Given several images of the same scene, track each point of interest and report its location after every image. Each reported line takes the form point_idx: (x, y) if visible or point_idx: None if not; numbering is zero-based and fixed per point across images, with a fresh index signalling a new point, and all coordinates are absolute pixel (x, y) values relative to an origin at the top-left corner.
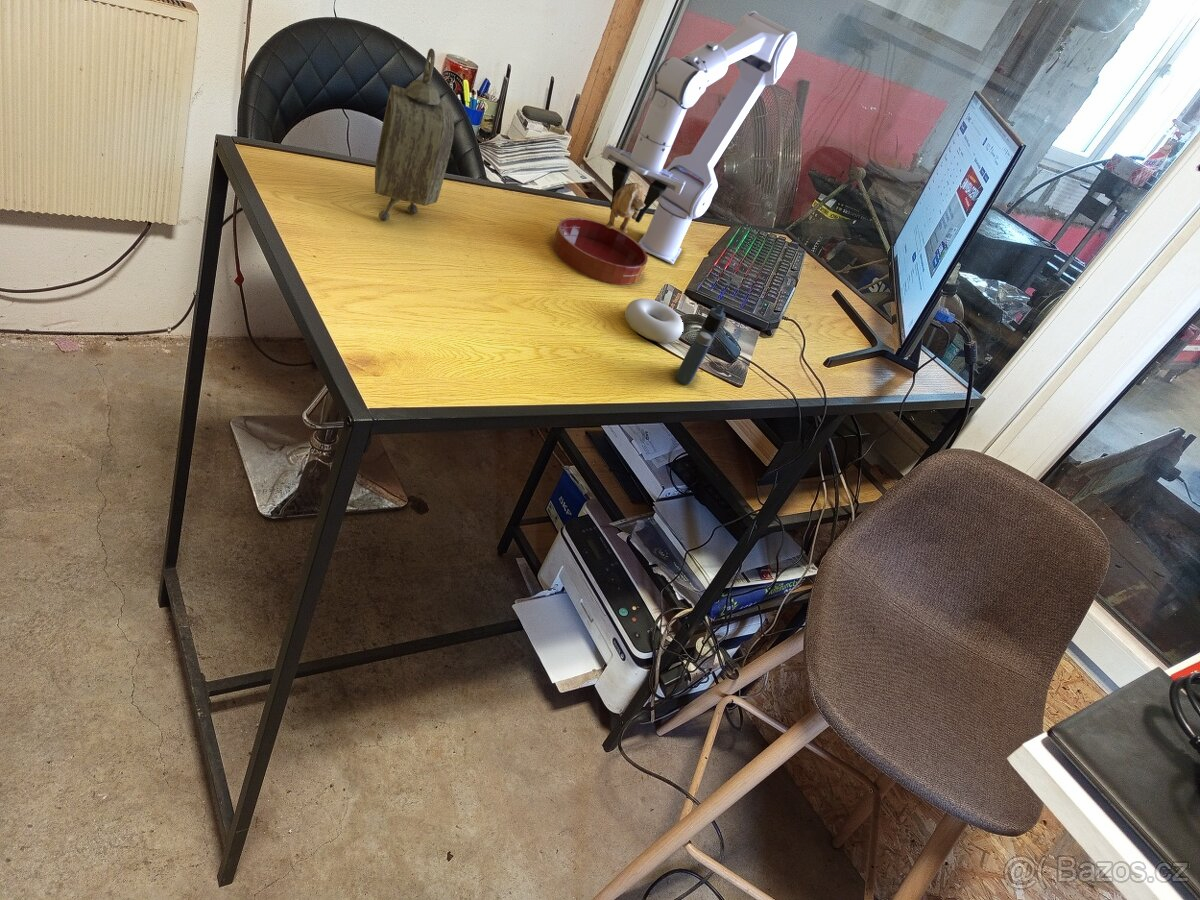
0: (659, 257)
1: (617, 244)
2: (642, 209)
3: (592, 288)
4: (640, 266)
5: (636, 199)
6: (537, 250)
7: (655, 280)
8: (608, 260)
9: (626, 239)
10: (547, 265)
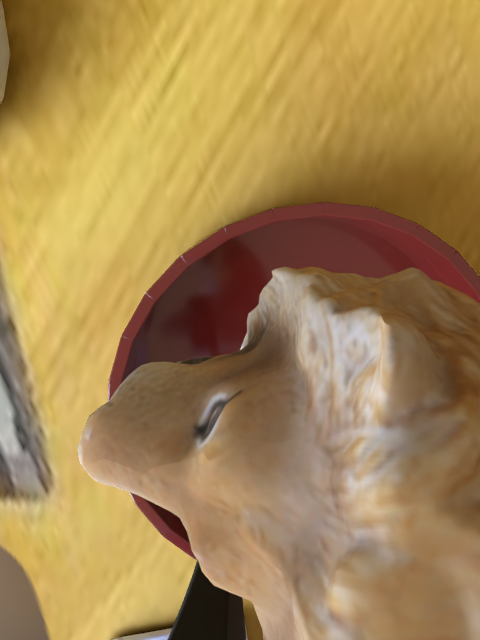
0: (155, 632)
1: None
2: (211, 605)
3: (210, 133)
4: (109, 379)
5: (240, 386)
6: (471, 201)
7: None
8: None
9: None
10: (403, 122)
